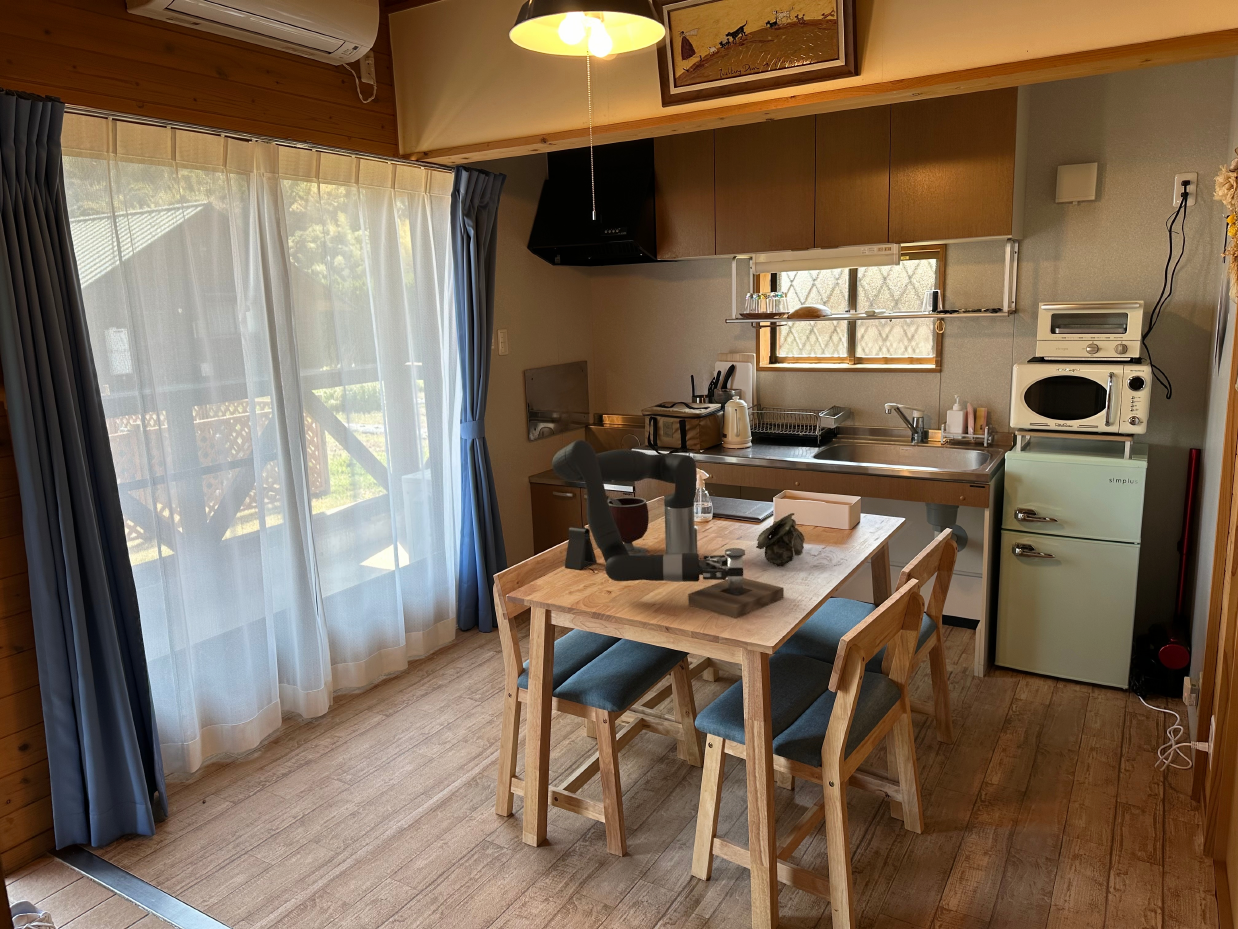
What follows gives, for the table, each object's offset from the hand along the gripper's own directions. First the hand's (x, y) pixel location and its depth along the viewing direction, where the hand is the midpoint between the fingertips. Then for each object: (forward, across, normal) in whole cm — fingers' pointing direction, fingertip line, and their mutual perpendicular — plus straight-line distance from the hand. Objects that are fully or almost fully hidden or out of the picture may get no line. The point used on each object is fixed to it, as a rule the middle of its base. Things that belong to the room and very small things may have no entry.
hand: (742, 567), depth 226 cm
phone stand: (-49, +34, +10) cm, 60 cm away
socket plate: (-2, 0, +10) cm, 10 cm away
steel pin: (-2, 0, +10) cm, 10 cm away
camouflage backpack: (+12, +40, +10) cm, 43 cm away
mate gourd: (-36, +47, +10) cm, 60 cm away
